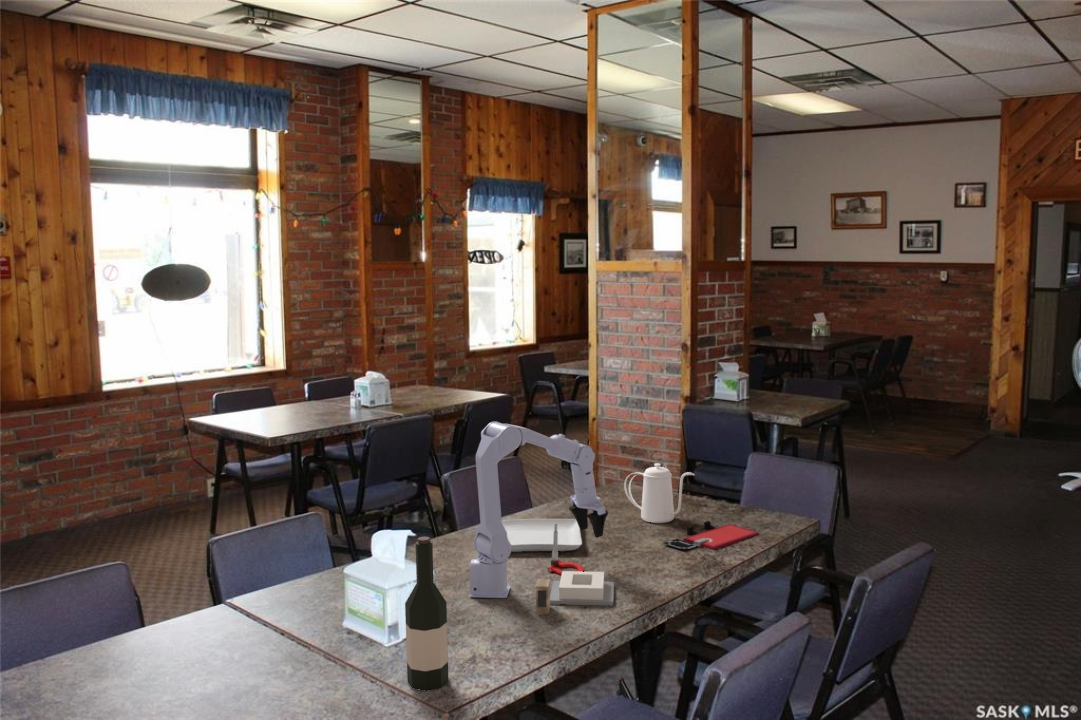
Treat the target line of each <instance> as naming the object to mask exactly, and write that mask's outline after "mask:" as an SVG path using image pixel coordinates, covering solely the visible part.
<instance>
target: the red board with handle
mask: <svg viewBox="0 0 1081 720" xmlns="http://www.w3.org/2000/svg"><path fill="white" fill-rule="evenodd" d="M703 525H704V527H703V529H704V531H703V532H698V531H696V530H695V529H694V526H693V525H690V526H687V527H686V535H687V537H684V538H683V540H682V539H679V538H675V539H672V540H669V541H665V542H663V544H664V545H667V546H671V547H674V548H677V549H680V550H683V551H685V550H689V549H693V548H695V547H696V546H697V548H701V547H702V548H704V547H705V548H704V549H708V550H712V551H715V550H719V549H720V548H723V547H726V546H729V545H732V544H735V543H739V542H740V541H743V540H746V539H749V538H752V537H755V536H758V535H759V534H760V533H759V531H756V530H751V529H749V528H745V527H741V526H736V525H733V524H729V523H728V524H726V525H722V526H720V527H716V526H714V525H713V524H711V521H710V520H707V521H704V524H703ZM707 529H708V530H707ZM705 530H706V531H705ZM700 546H701V547H700Z"/></svg>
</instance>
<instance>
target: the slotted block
mask: <svg viewBox="0 0 1081 720" xmlns="http://www.w3.org/2000/svg"><path fill="white" fill-rule="evenodd" d="M614 585H615V582H614V581H605V571H584V572H582V571H577V570H574V571H573V570H571V571H570V570H567V571H566V570H562V575H560V580H552V585H551V587H550V605H560V604H566V605H565V606H567V605H568V606H569V605H570V606H571V605H573V606H608V605H609V606H611V607H612V606H614V596H615V595H614V592H615V590H614V589H615V586H614ZM609 606H608V607H609Z"/></svg>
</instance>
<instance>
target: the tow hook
mask: <svg viewBox="0 0 1081 720" xmlns="http://www.w3.org/2000/svg"><path fill="white" fill-rule="evenodd" d="M557 543H558V531H557V524H555V527H554V536H553V551H552V552H551V560H550V566H549V567H548V568H547V572H548V573H550V572H551V573H552V572H553V573H556V574H558V575H560V576H561V575H562V571H563V570H562V569H560V568H567V567H568V568H574V569H577V570H576V571H582V572H583V571H584V572H585V567H584V566H583V565H581V564H578V563H575V562H562V561H561V560H559V558H558V557H559V552H558V551H557Z"/></svg>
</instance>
